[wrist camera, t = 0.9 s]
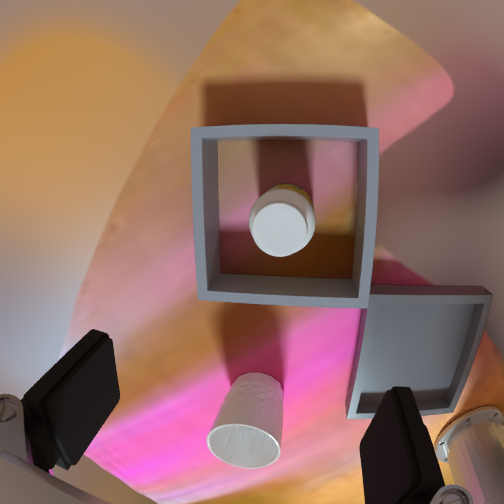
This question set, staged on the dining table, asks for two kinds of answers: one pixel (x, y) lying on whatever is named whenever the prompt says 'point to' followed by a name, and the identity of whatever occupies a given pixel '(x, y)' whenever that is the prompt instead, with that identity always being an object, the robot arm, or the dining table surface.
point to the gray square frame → (279, 287)
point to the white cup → (249, 422)
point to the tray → (416, 345)
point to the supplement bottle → (282, 220)
